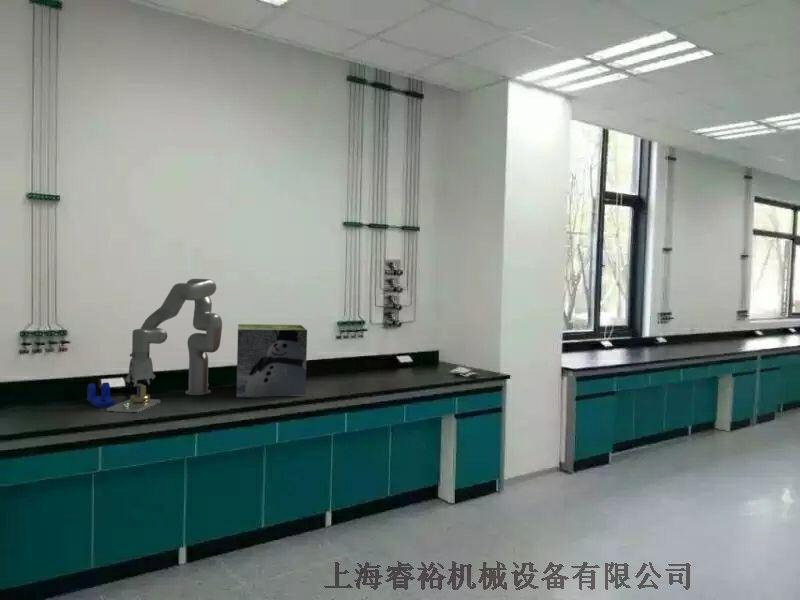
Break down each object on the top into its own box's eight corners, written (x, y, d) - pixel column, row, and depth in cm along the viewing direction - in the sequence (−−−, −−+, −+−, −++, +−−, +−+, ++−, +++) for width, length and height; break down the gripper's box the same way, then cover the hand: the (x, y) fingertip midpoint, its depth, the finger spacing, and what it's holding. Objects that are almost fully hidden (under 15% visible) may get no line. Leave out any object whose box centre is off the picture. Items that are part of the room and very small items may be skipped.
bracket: (87, 401, 284) (87, 382, 284) (106, 399, 289) (106, 381, 289) (96, 408, 270) (97, 388, 270) (116, 406, 276) (116, 387, 275)
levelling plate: (132, 401, 286) (132, 394, 286) (160, 402, 285) (160, 395, 285) (106, 411, 264) (107, 404, 264) (137, 412, 263) (137, 405, 263)
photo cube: (299, 384, 345) (300, 324, 344) (305, 396, 311) (307, 330, 310) (236, 385, 336) (238, 324, 335) (236, 397, 302) (237, 329, 301)
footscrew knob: (127, 400, 279) (127, 384, 279) (145, 398, 285) (145, 382, 285) (136, 404, 272) (136, 387, 272) (154, 401, 278) (154, 385, 278)
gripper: (128, 357, 270) (127, 397, 270) (161, 354, 284) (161, 392, 284) (119, 356, 274) (118, 395, 274) (152, 353, 288) (151, 390, 289)
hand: (140, 393), depth 279 cm, fingers open, 5 cm apart
